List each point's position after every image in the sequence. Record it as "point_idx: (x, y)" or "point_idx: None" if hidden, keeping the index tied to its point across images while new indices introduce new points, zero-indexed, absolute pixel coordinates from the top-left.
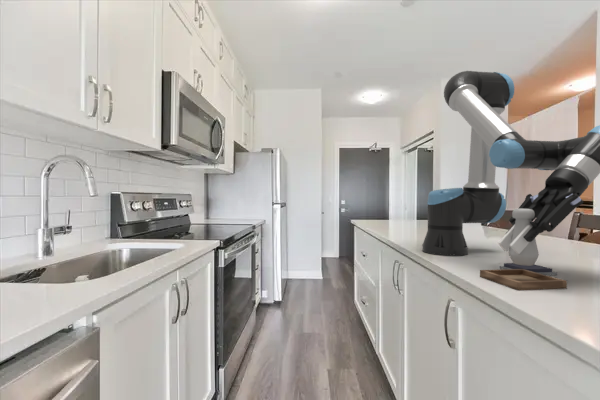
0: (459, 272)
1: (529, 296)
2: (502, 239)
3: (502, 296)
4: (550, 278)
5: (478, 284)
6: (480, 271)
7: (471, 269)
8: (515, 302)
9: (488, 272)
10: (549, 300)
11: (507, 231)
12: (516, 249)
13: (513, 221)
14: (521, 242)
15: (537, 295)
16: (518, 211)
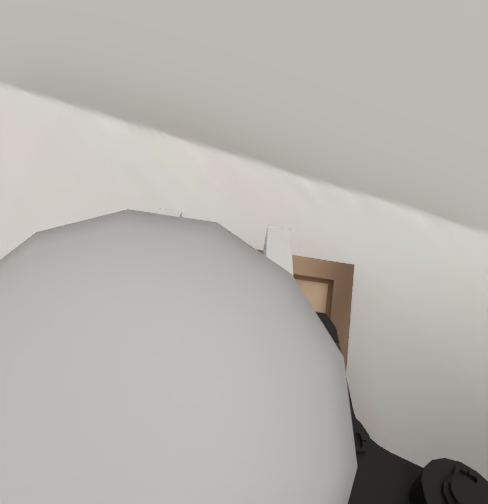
0: (431, 248)
1: (77, 213)
2: (275, 244)
3: (111, 134)
4: None
5: (246, 173)
6: (348, 266)
7: (483, 353)
8: (55, 120)
9: (303, 261)
10: (23, 234)
11: (336, 341)
12: None
13: (413, 493)
14: None
15: None
16: (101, 217)
